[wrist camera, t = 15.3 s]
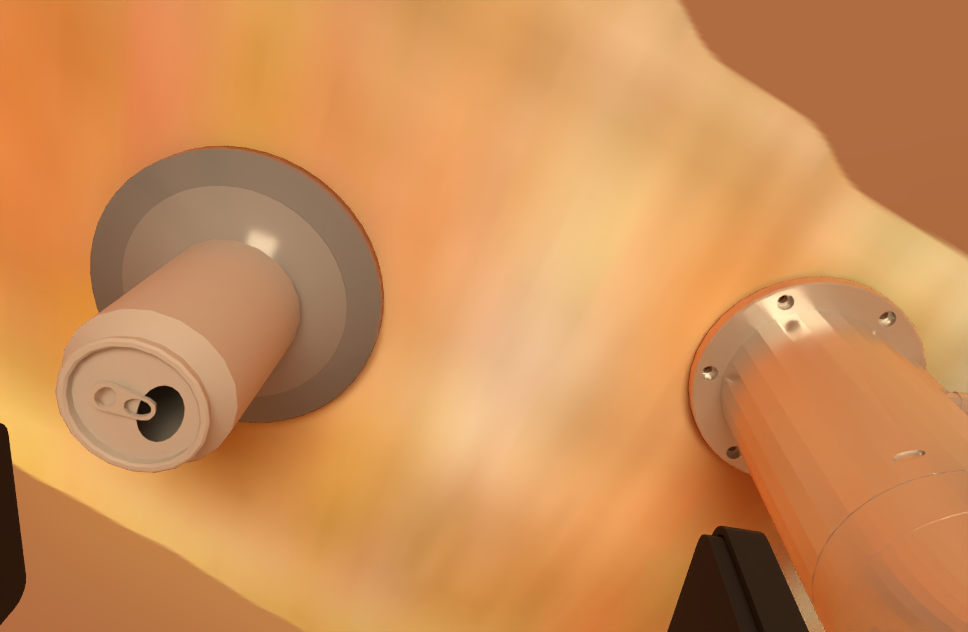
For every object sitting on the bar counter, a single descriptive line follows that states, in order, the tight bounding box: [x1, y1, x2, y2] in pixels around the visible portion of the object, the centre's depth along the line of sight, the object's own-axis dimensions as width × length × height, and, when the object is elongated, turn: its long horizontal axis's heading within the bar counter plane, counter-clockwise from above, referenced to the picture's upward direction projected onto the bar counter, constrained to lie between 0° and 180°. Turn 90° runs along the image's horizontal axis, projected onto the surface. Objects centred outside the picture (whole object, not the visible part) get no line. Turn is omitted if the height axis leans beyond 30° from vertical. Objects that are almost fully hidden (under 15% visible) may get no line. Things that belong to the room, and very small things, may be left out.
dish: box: [90, 146, 384, 423], centre depth 41 cm, size 16×16×1 cm
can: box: [56, 239, 300, 473], centre depth 35 cm, size 8×8×12 cm
